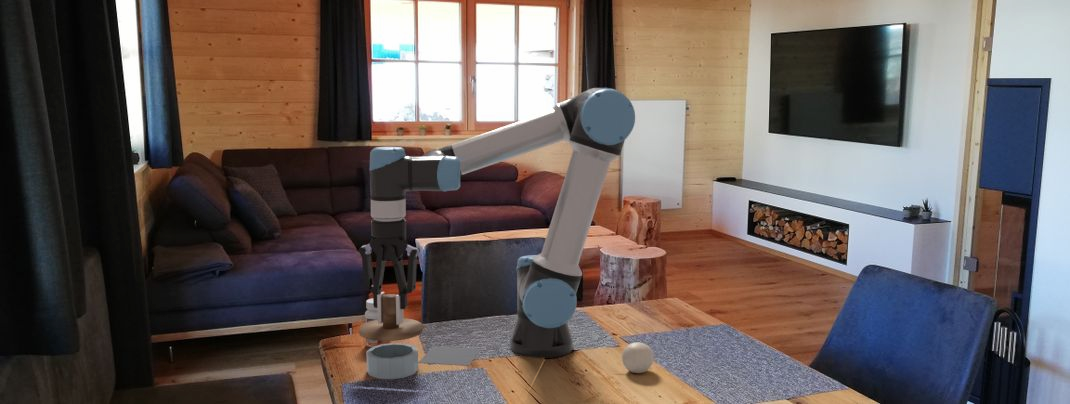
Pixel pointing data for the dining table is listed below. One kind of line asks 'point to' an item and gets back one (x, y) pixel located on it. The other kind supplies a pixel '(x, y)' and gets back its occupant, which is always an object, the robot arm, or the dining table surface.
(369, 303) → the pill bottle
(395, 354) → the bowl
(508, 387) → the dining table surface
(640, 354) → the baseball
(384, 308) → the lid
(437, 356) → the mat
